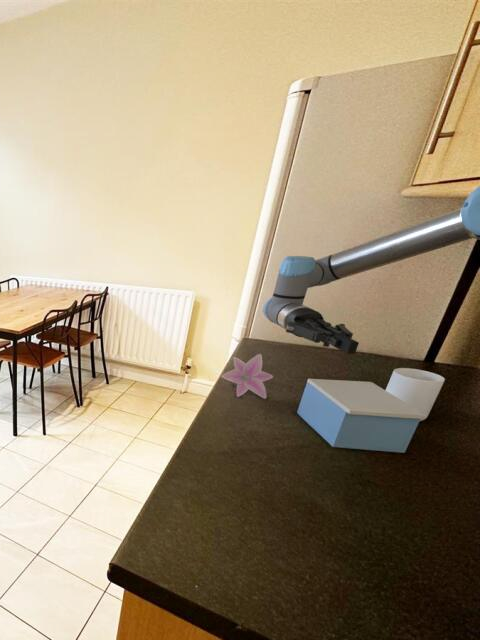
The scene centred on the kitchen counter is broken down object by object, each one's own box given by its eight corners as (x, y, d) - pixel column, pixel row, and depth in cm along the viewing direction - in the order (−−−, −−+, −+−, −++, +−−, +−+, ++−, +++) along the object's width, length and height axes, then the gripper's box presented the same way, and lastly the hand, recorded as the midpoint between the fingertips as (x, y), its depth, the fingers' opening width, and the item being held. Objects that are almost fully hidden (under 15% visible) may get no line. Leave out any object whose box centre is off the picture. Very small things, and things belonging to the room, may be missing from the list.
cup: (381, 416, 98) (398, 377, 94) (371, 397, 107) (386, 361, 103) (431, 425, 93) (450, 384, 89) (416, 404, 103) (433, 366, 98)
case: (404, 452, 84) (421, 417, 81) (332, 446, 87) (346, 412, 83) (357, 417, 98) (370, 385, 94) (296, 412, 101) (307, 381, 97)
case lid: (425, 419, 80) (426, 415, 79) (348, 414, 83) (350, 410, 82) (370, 385, 94) (371, 381, 94) (307, 381, 97) (308, 378, 97)
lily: (208, 393, 114) (226, 372, 106) (219, 366, 120) (236, 344, 112) (254, 414, 110) (276, 393, 102) (262, 385, 116) (284, 363, 108)
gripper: (323, 334, 113) (381, 365, 92) (269, 332, 116) (314, 362, 95) (332, 307, 110) (394, 333, 89) (277, 306, 113) (324, 330, 92)
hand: (352, 348), depth 92 cm, fingers closed
